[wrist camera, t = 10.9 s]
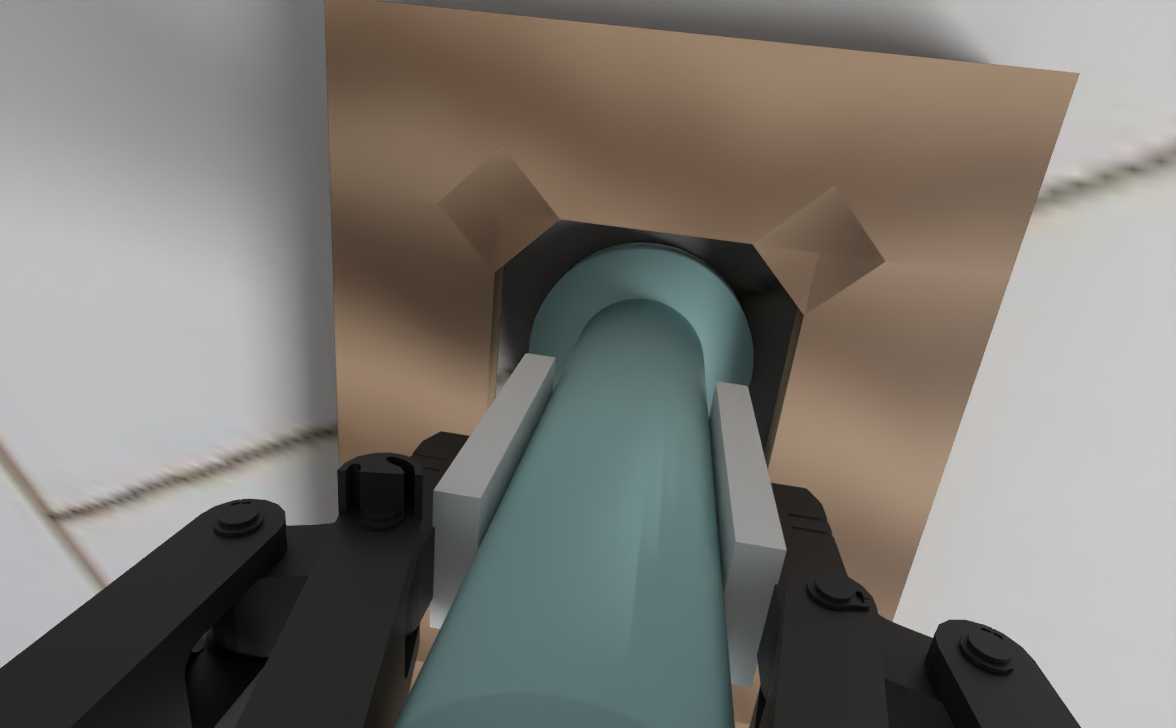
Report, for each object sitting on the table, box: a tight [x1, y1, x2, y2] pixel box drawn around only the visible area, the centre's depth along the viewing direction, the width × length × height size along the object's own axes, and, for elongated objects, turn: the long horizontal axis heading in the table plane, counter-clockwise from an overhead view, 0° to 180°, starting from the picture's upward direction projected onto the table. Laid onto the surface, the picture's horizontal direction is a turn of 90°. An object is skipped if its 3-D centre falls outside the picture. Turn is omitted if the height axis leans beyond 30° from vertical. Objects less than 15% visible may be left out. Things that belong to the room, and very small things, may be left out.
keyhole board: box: [324, 0, 1080, 728], centre depth 22 cm, size 28×18×3 cm, turn 174°
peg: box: [393, 242, 754, 728], centre depth 14 cm, size 7×7×16 cm
